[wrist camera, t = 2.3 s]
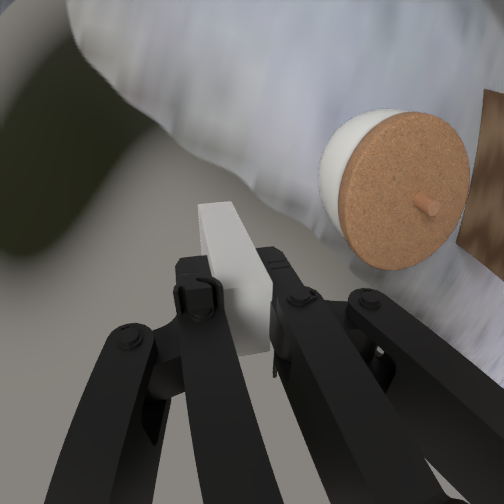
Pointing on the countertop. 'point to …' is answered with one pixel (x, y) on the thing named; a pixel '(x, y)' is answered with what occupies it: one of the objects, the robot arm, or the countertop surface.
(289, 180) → the countertop surface
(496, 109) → the board
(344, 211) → the lidded jar
